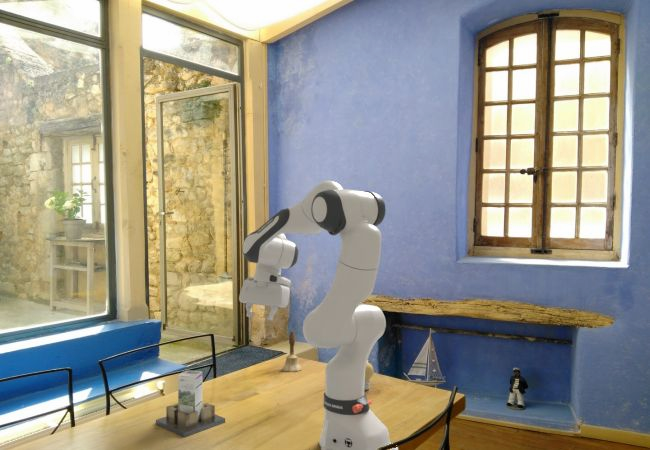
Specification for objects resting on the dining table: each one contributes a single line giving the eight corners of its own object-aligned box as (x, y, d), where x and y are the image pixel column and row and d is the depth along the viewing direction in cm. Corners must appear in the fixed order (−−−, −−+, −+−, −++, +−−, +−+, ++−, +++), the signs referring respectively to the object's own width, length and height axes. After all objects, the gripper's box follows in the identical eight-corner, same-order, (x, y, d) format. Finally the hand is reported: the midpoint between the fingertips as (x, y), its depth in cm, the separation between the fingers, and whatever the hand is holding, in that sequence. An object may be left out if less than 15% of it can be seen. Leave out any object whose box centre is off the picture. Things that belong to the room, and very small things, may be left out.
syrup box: (203, 416, 166) (203, 370, 166) (195, 423, 161) (195, 376, 160) (186, 415, 167) (186, 369, 167) (177, 422, 162) (177, 374, 161)
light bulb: (372, 392, 194) (372, 365, 193) (355, 391, 195) (355, 364, 195) (374, 386, 200) (374, 360, 200) (357, 385, 201) (357, 359, 201)
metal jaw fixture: (225, 422, 165) (225, 405, 165) (184, 437, 154) (184, 419, 153) (196, 410, 175) (196, 394, 175) (155, 423, 163) (155, 407, 163)
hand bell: (280, 366, 226) (281, 329, 225) (300, 365, 227) (300, 328, 227) (282, 372, 217) (283, 333, 217) (302, 371, 219) (303, 333, 218)
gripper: (239, 274, 187) (231, 314, 183) (283, 278, 174) (275, 320, 171) (251, 278, 191) (244, 316, 188) (295, 281, 179) (287, 322, 176)
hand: (259, 318), depth 180 cm, fingers open, 8 cm apart
